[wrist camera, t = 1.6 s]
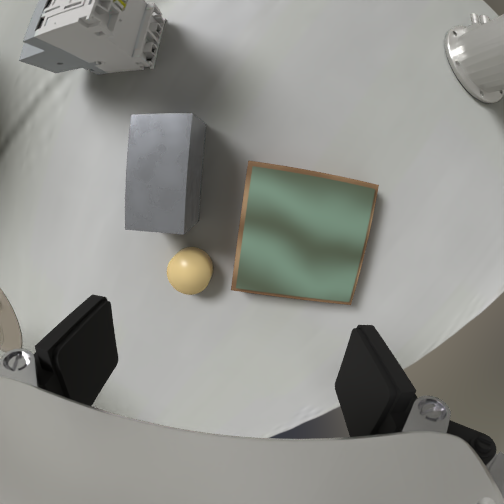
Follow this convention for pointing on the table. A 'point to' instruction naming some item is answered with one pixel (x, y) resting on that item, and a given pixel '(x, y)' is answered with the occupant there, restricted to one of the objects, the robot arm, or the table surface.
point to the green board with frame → (302, 233)
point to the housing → (164, 172)
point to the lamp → (8, 326)
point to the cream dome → (190, 270)
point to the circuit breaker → (93, 35)
